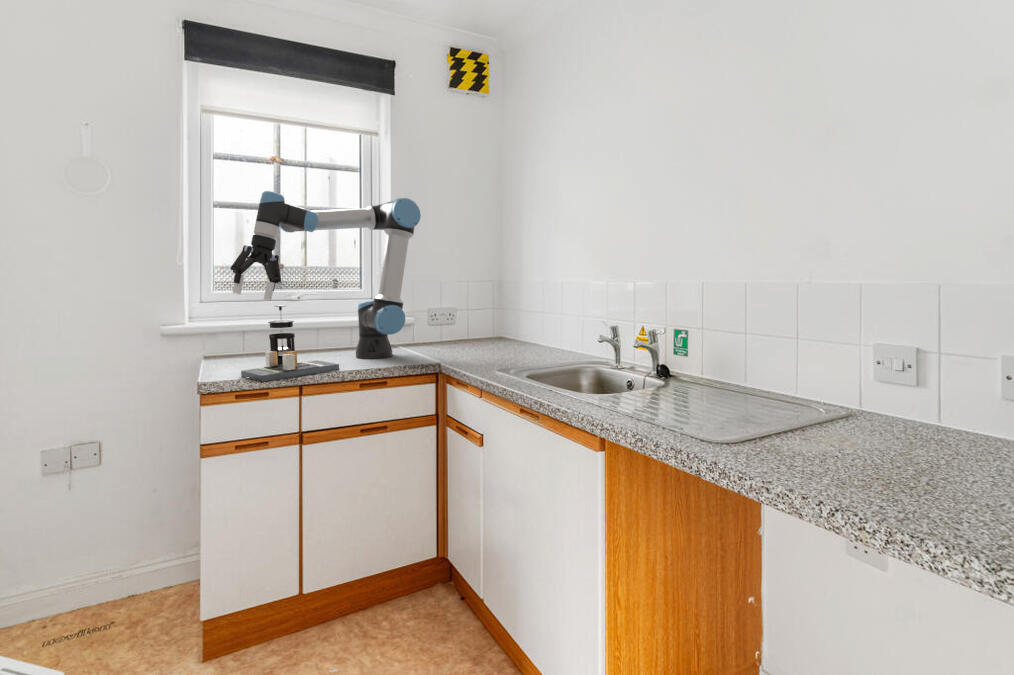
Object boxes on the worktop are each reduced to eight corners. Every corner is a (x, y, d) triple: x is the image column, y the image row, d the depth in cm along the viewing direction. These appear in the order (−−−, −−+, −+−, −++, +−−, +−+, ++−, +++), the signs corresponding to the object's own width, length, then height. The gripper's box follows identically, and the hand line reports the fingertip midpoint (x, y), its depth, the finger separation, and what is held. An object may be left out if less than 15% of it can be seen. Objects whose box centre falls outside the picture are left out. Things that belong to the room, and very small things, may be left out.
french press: (280, 362, 207) (277, 304, 204) (302, 363, 205) (299, 304, 203) (262, 368, 195) (258, 306, 193) (285, 368, 194) (281, 306, 191)
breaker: (293, 365, 186) (293, 350, 185) (297, 365, 184) (296, 351, 184) (285, 366, 184) (284, 351, 183) (289, 366, 182) (288, 352, 182)
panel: (316, 365, 200) (315, 345, 199) (339, 369, 190) (338, 349, 189) (241, 376, 179) (239, 354, 178) (262, 381, 169) (261, 358, 168)
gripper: (282, 244, 195) (270, 301, 194) (227, 225, 171) (213, 288, 171) (298, 247, 192) (286, 304, 192) (244, 227, 169) (231, 292, 168)
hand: (252, 297), depth 181 cm, fingers open, 13 cm apart
